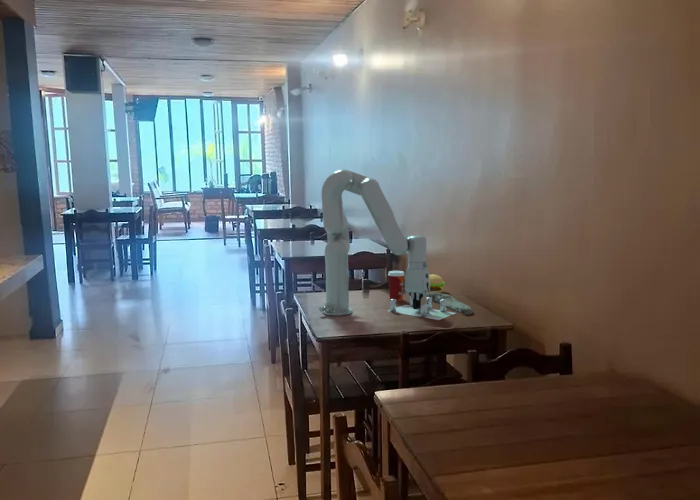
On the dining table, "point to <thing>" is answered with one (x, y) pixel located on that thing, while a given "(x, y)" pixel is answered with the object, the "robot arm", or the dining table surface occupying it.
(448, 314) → the board
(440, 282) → the hamburger
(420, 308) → the grey faceted hexagonal block
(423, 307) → the spacers
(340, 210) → the robot arm
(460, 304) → the elongated rock
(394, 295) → the paper cup
